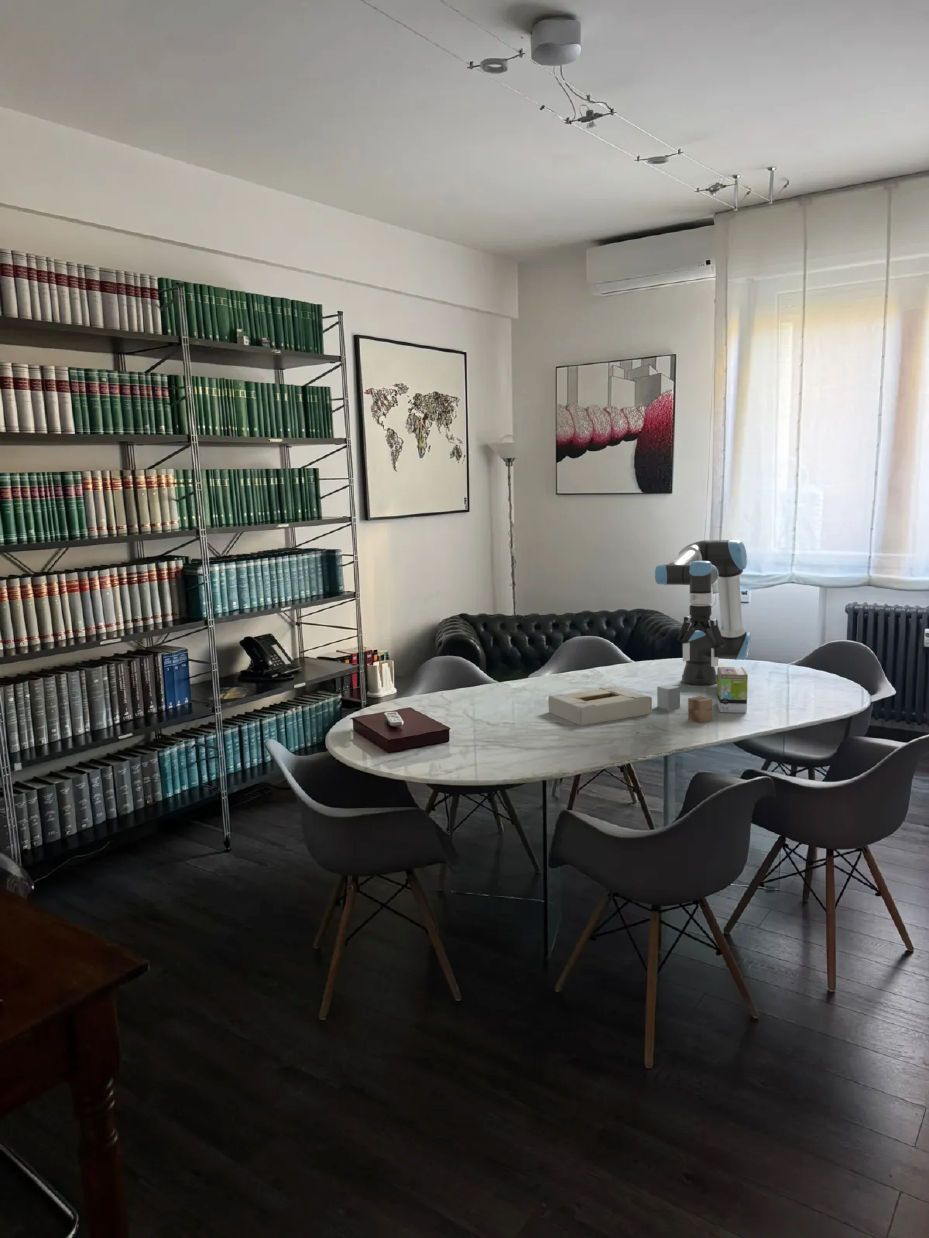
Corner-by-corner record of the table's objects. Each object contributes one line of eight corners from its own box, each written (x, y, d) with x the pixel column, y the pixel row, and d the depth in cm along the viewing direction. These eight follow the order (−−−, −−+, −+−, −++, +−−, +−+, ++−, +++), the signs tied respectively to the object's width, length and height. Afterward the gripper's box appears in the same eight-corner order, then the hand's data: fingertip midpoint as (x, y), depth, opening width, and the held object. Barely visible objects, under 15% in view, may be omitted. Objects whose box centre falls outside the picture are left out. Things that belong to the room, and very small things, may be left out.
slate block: (657, 706, 331) (657, 686, 330) (668, 704, 335) (668, 684, 333) (668, 709, 326) (668, 689, 325) (679, 707, 329) (679, 687, 328)
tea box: (747, 713, 317) (748, 674, 315) (719, 712, 319) (719, 673, 317) (743, 703, 332) (743, 666, 330) (716, 703, 334) (716, 666, 332)
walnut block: (688, 719, 311) (688, 698, 310) (699, 717, 314) (699, 695, 313) (700, 723, 306) (700, 701, 305) (712, 720, 309) (712, 698, 308)
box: (581, 727, 308) (652, 714, 322) (580, 706, 307) (652, 694, 321) (547, 715, 329) (615, 703, 343) (546, 695, 328) (615, 684, 342)
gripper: (667, 602, 313) (667, 659, 316) (720, 608, 292) (719, 669, 294) (682, 600, 317) (682, 657, 319) (735, 606, 295) (734, 667, 298)
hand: (700, 663), depth 307 cm, fingers open, 13 cm apart
